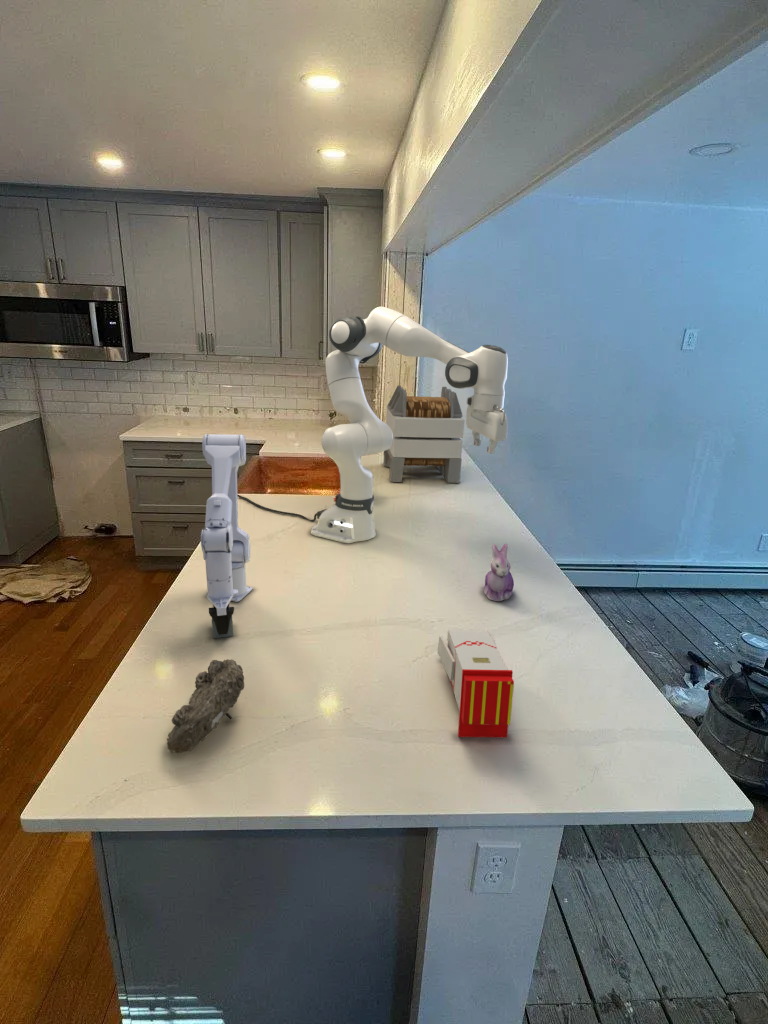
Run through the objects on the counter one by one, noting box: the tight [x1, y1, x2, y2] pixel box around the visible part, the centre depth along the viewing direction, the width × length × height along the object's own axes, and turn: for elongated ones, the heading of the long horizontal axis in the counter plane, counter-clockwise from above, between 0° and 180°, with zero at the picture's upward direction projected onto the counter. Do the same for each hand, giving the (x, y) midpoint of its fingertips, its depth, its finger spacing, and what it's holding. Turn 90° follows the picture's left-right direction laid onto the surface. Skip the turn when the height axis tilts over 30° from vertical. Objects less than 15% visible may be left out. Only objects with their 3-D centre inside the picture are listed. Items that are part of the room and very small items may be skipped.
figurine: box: [483, 543, 515, 602], centre depth 157 cm, size 9×10×15 cm
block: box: [211, 615, 234, 639], centre depth 135 cm, size 4×5×4 cm
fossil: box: [166, 658, 245, 754], centre depth 106 cm, size 22×10×15 cm
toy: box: [437, 628, 515, 738], centre depth 117 cm, size 12×13×30 cm
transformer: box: [383, 384, 466, 484], centre depth 268 cm, size 34×33×41 cm
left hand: (222, 627), depth 135 cm, fingers open, 5 cm apart
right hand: (483, 449), depth 171 cm, fingers open, 8 cm apart
